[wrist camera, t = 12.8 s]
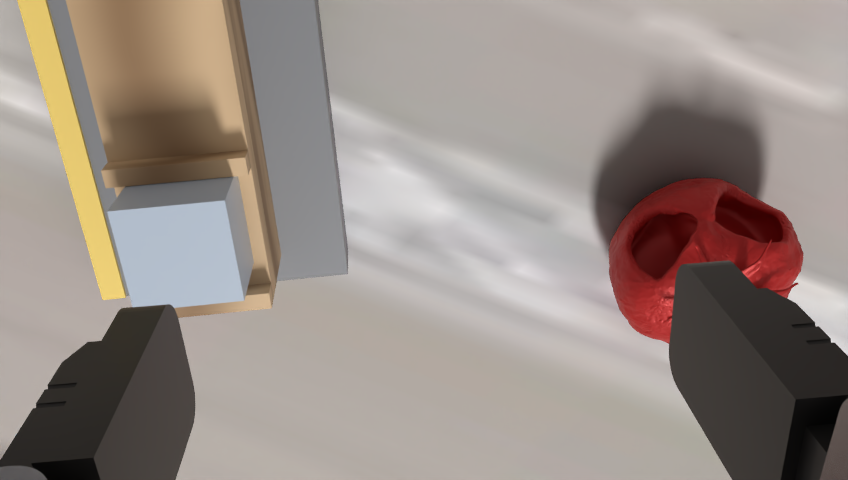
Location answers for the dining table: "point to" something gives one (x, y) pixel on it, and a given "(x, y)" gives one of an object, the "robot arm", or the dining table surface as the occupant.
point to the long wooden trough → (180, 110)
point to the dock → (279, 120)
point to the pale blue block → (183, 242)
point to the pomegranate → (696, 247)
